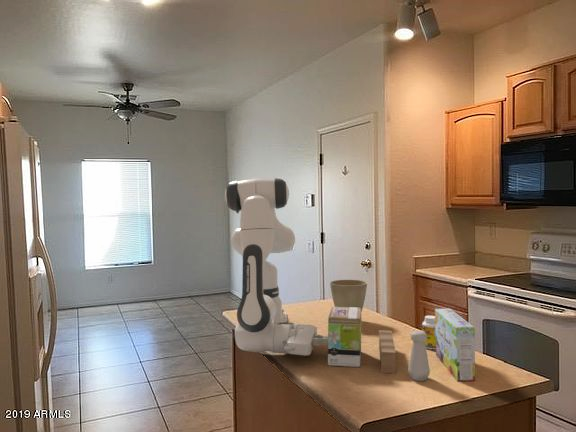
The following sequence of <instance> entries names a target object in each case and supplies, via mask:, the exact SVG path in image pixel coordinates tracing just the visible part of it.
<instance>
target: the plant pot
mask: <svg viewBox="0 0 576 432" xmlns="http://www.w3.org/2000/svg"><path fill="white" fill-rule="evenodd" d="M329 286H330V293H331V298H332V301H333V302H332V303H333V304H334V305H333V307H357V308H361V313H362V311H363V307H364V303H365V299H366V296H367V295H366V294H367V287H368V282H367V281H365V280H362V279H359V280H358V279H336V280H331V281H330V282H329Z"/></svg>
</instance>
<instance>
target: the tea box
mask: <svg viewBox="0 0 576 432" xmlns="http://www.w3.org/2000/svg"><path fill="white" fill-rule="evenodd" d="M327 319H328V320H327V321H328V323H327V328H328V329H327V336H328V344H327V366H336V367H354V368H357V367H358V368H360V366H361V361H362V359H361V358H362V357H361V356H362V312H361V308H357V307H335V306H331V307H330V311H329V314H328V318H327Z"/></svg>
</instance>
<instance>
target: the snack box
mask: <svg viewBox="0 0 576 432" xmlns="http://www.w3.org/2000/svg"><path fill="white" fill-rule="evenodd" d="M434 316H435V333H436V349H435V355H436V358H438V359H439V361H440V362H441V363H442V364H443V365H444V366H445V368H446V369H447V371H448V372H449V373H450V375H452V377H453V378H454V380H456V382H470V381H471V382H474V381H475V382H476V350H475V349H476V347H475V346H476V344H475V342H476V341H475V340H476V339H475V338H476V337H475V335H476V334H475V333H476V332H475V331H476V329H475V326H473V325H472V324H471V323H470V322H468V321H467V319H466V320H465V318H463V317H462V316H460V314H458V313H456V311H454V310H453V309H451V308H434Z"/></svg>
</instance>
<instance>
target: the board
mask: <svg viewBox="0 0 576 432" xmlns="http://www.w3.org/2000/svg"><path fill="white" fill-rule="evenodd" d="M378 349H379V350H378V351H379V360H380V369H381V374H396V373H397V357H396V356H397V352H396V351H397V350H396V347H395V342H394V338H393V332H392V330H382V329H381V330H378Z"/></svg>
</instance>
